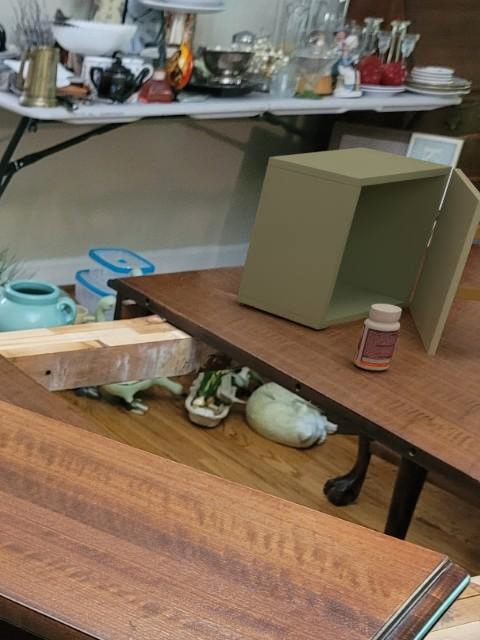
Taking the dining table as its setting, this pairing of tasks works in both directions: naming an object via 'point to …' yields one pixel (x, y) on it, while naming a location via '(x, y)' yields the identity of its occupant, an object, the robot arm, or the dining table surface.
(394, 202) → the cupboard
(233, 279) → the dining table surface
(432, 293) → the cupboard door
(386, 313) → the pill bottle
